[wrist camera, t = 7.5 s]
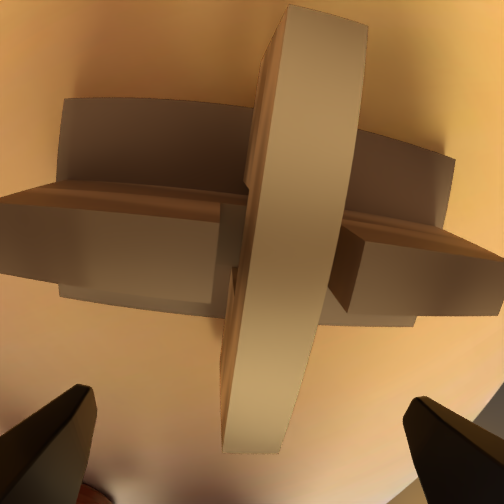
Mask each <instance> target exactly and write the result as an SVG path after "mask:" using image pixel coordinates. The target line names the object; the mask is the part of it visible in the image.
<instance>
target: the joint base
mask: <svg viewBox="0 0 504 504" xmlns="http://www.w3.org/2000/svg"><path fill="white" fill-rule="evenodd" d="M253 110H254V108H248V107H241V106H233V105H225V104H216V103H206V102H196V101H184V100H170V99H151V98H69V99H64V105H63V112H62V119H61V128H60V137H59V147H58V159H57V175H56V182H55V183H51V184H47V185H43V186H39V187H36V188H32V189H28V190H25V191H21V192H18V193H14V194H11V195H8V196H4V197H1V198H0V273H1V274H7V275H12V276H17V277H23V278H28V279H34V280H39V281H45V282H51V283H57V284H59V295H60V297H64V298H70V299H76V300H82V301H88V302H94V303H101V304H107V305H114V306H121V307H128V308H136V309H143V310H151V311H159V312H167V313H176V314H185V315H194V316H204V317H214V318H224V319H225V315H226V307H227V299H228V291H229V283H230V275H231V267H234V268H238V267H239V259H240V252H241V245H242V238H243V231H244V223H245V216H246V209H247V202H248V195H249V189H248V187H247V186H246V184H245V183H244V182H243V179H244V172H245V165H246V158H247V151H248V144H249V137H250V130H251V124H252V117H253ZM455 160H456V159H453V158H450V157H448V156H445V155H442V154H439V153H436V152H433V151H430V150H427V149H424V148H421V147H418V146H415V145H412V144H409V143H406V142H402V141H399V140H396V139H392V138H389V137H385V136H382V135H378V134H375V133H371V132H367V131H363V130H359V129H357V135H356V142H355V148H354V155H353V161H352V167H351V173H350V179H349V185H348V190H347V196H346V201H345V207H344V212H343V217H342V222H341V227H340V232H339V237H338V241H337V246H336V251H335V255H334V260H333V264H332V269H331V273H330V278H329V282H328V286H327V290H326V294H325V299H324V303H323V307H322V311H321V315H320V318H319V322H318V325H332V326H365V327H413V326H414V323H415V320H416V317H417V316H498V314H499V312H500V309H501V306H502V304H503V301H504V258H502V257H500V256H498V255H496V254H494V253H492V252H490V251H488V250H486V249H484V248H482V247H480V246H478V245H475V244H473V243H471V242H469V241H467V240H465V239H463V238H460V237H458V236H456V235H454V234H452V233H449V232H447V231H445V230H443V224H444V220H445V215H446V211H447V206H448V201H449V196H450V190H451V185H452V179H453V173H454V167H455Z"/></svg>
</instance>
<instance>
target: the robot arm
mask: <svg viewBox="0 0 504 504" xmlns="http://www.w3.org/2000/svg"><path fill="white" fill-rule="evenodd" d="M96 418H97V406H96V402H95V397H94V392H93V389H92V387H90V386H87V385H82V384H76V385H74V386H73V387H72V388H70V389H69V390H67V391H66V392H64V393H63V394H61V395H60V396H58V397H57V398H56V399H54V400H53V401H51V402H50V403H48V404H47V405H45V406H44V407H42V408H41V409H39V410H38V411H37V412H35V413H34V414H32V415H31V416H29V417H28V418H26V419H25V420H23V421H22V422H20V423H19V424H17V425H16V426H14V427H13V428H12V429H10V430H9V431H7V432H6V433H4V434H3V435H1V436H0V504H76V500H77V497H78V493H79V490H80V486H81V483H82V480H83V476H84V473H85V470H86V466H87V463H88V458H89V453H90V447H91V442H92V437H93V432H94V427H95V422H96ZM403 426H404V430H405V433H406V437H407V441H408V445H409V448H410V452H411V456H412V460H413V463H414V466H415V469H416V472H417V474H418V477H419V480H420V483H421V485H422V488H423V491H424V494H425V497H426V500H427V503H428V504H504V440H503V439H502V438H500V437H498V436H496V435H494V434H492V433H491V432H488V431H487V430H485V429H483V428H481V427H480V426H478V425H476V424H474V423H473V422H471V421H469V420H467V419H465V418H464V417H462V416H460V415H458V414H456V413H455V412H453V411H451V410H449V409H448V408H446V407H444V406H442V405H441V404H439V403H437V402H435V401H434V400H432V399H430V398H429V397H427V396H421V397H416V398H414V399H413V400H412V401H411V403H410V405H409V407H408V409H407V411H406V412H405V414H404V416H403Z"/></svg>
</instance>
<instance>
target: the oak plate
mask: <svg viewBox="0 0 504 504" xmlns="http://www.w3.org/2000/svg"><path fill="white" fill-rule="evenodd" d="M367 37H368V26H367V25H364V24H361V23H358V22H355V21H352V20H349V19H345V18H342V17H339V16H335V15H332V14H328V13H324V12H320V11H316V10H312V9H308V8H304V7H300V6H295V5H290V4H289V5H288V7H287V9H286V11H285V13H284V15H283V17H282V19H281V21H280V23H279V25H278V27H277V29H276V31H275V33H274V35H273V37H272V40H271V42H270V44H269V46H268V48H267V50H266V52H265V54H264V56H263V59H262V61H261V65H260V71H259V78H258V84H257V91H256V97H255V104H254V110H253V117H252V124H251V130H250V137H249V144H248V151H247V158H246V165H245V172H244V179H243V182H244V183H245V184H246V186H247V187H248V189H249V195H248V202H247V209H246V216H245V223H244V231H243V238H242V245H241V252H240V259H239V267H238V268H234V267H231V275H230V283H229V291H228V299H227V307H226V315H225V323H224V331H223V339H222V348H221V356H220V403H221V439H222V453H230V454H279V451H280V448H281V445H282V442H283V439H284V436H285V434H286V431H287V428H288V425H289V421H290V418H291V415H292V412H293V409H294V406H295V403H296V400H297V396H298V393H299V390H300V386H301V383H302V380H303V376H304V373H305V370H306V366H307V363H308V359H309V356H310V352H311V348H312V345H313V341H314V337H315V334H316V330H317V326H318V322H319V318H320V315H321V311H322V307H323V303H324V299H325V294H326V290H327V286H328V282H329V278H330V273H331V269H332V264H333V260H334V255H335V251H336V246H337V241H338V237H339V232H340V227H341V222H342V217H343V212H344V207H345V201H346V196H347V190H348V185H349V179H350V173H351V167H352V161H353V155H354V148H355V142H356V135H357V128H358V121H359V113H360V106H361V97H362V89H363V80H364V70H365V60H366V49H367Z"/></svg>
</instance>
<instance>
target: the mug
mask: <svg viewBox="0 0 504 504" xmlns="http://www.w3.org/2000/svg"><path fill="white" fill-rule="evenodd" d="M76 504H113V503H112V502H111V501H110V500H109V499H108V498H107V497H106V496H104V495H103V494H102V493H100V492H99V491H97V490H96V489H94V488H92V487H90V486H88V485H86V484H83V483H81V486H80V490H79V493H78V497H77V500H76Z"/></svg>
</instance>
